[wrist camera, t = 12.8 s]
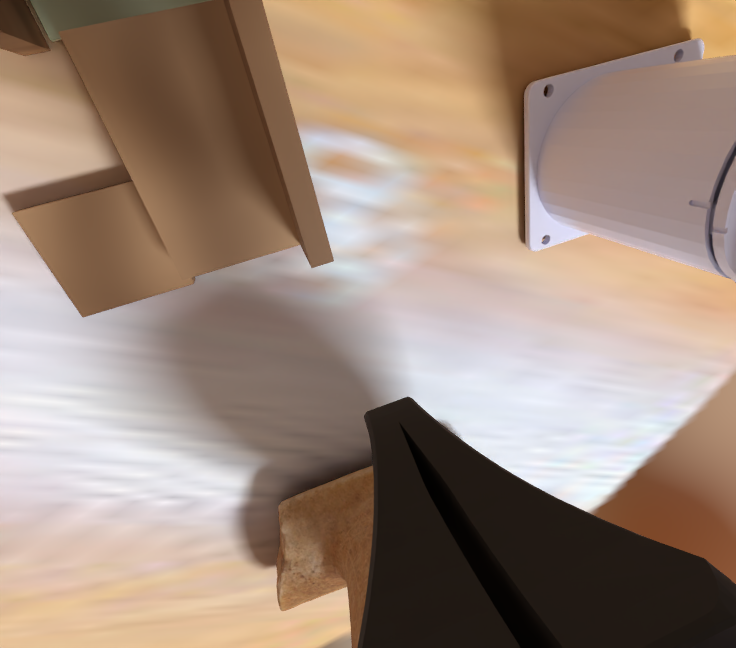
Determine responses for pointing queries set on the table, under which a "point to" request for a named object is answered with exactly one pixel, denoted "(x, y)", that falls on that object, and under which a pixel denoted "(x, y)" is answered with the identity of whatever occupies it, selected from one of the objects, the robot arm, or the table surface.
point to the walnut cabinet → (172, 146)
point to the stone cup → (327, 544)
